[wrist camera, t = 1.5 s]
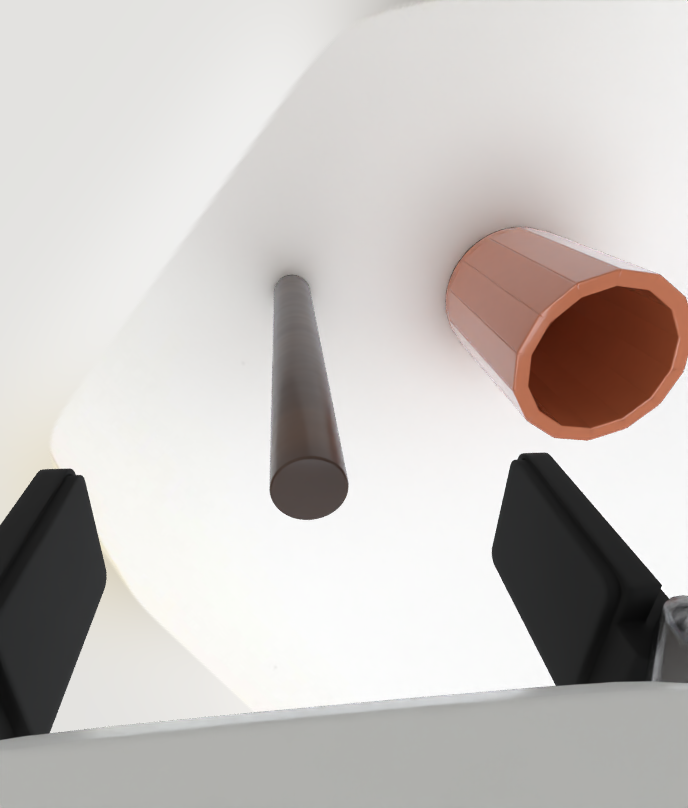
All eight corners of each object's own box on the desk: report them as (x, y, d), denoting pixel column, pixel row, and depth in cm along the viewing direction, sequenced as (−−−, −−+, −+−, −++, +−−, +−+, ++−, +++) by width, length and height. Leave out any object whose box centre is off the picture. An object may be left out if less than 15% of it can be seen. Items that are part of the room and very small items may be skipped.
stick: (266, 292, 26) (252, 492, 12) (291, 267, 25) (310, 442, 11) (292, 317, 26) (309, 532, 12) (317, 292, 26) (364, 488, 12)
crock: (418, 294, 26) (477, 365, 19) (528, 195, 25) (645, 226, 17) (491, 377, 29) (570, 469, 21) (595, 293, 28) (722, 359, 20)
